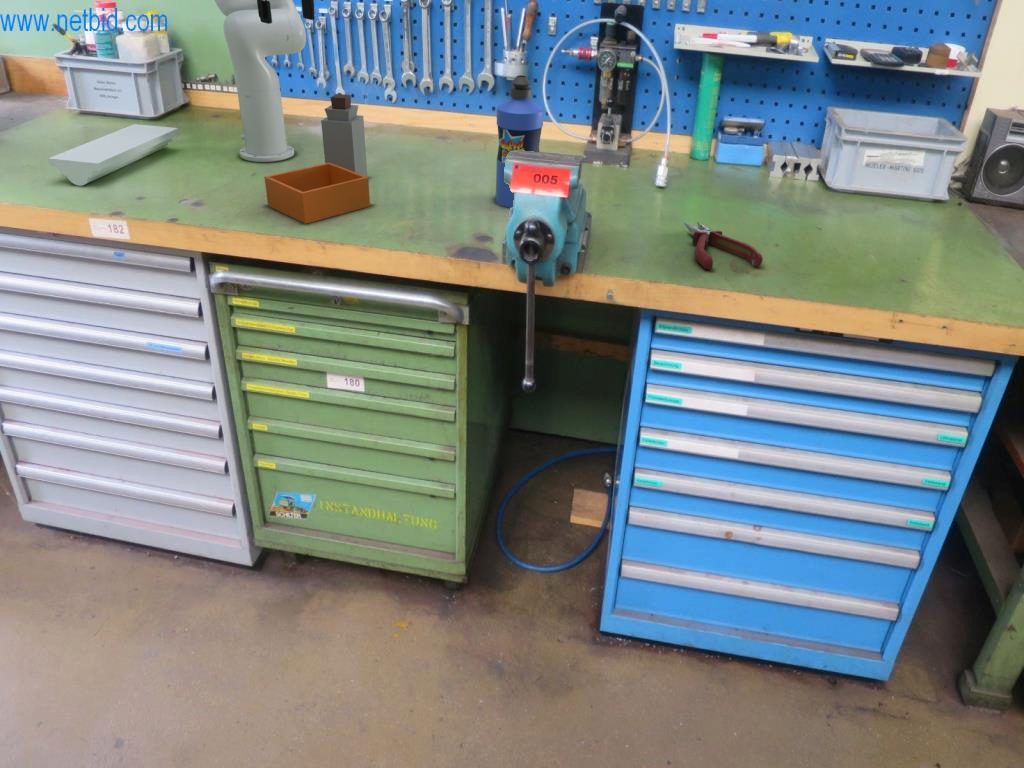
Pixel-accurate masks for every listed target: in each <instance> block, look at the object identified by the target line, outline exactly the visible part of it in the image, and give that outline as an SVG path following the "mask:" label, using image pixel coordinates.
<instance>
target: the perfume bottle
mask: <svg viewBox="0 0 1024 768" xmlns="http://www.w3.org/2000/svg"><path fill="white" fill-rule="evenodd" d="M329 98H330V104H331V105H328V107H325V108H324V112H325V114H326V117H324V118H323V119H321V120H320V123H321V134H322V145H323V155H324V157H323V158H324V163H329V162H330V163H332V164H335V165H337V166H340V167H343V168H345V169H348V170H350V171H353V172H355V173H358V174H361V175H363V176H366V177H368V165H367V151H366V150H367V149H366V136H365V121H364V115H361V114H360V115H359V114H358V110H359V105H358V104H352V95H351V94H343V93H342V94H341V93H336V94H333V95H331V96H329Z"/></svg>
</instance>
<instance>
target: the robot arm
mask: <svg viewBox="0 0 1024 768" xmlns="http://www.w3.org/2000/svg"><path fill="white" fill-rule="evenodd" d="M214 2H215V4H216V6H217V7H218V9H219V11H220V12H221V13H222V15H224V16H225V19H224V21H223V34H224V39H225V42H226V45H227V48H228V51H229V54H230V55H229V56H230V58H231V62H232V68H233V72H234V73H233V74H234V79H235V84H236V91H237V92H236V93H237V98H238V106H239V112H240V119H241V127H242V133H243V134H241V135H240V138H241V140H242V141H244V147H241V149H239V151H238V153H239V157H240V158H241V159H242V160H245V161H249V162H254V163H255V162H257V163H271V162H279V161H284V160H287V159H290V158H292V157H293V156H294V155H295V148H294V147H293V146H291V145H289V144H287V136H286V135H287V134H286V127H285V118H284V109H283V102H282V100H283V99H282V92H281V86H280V78H279V75H278V73H277V72H276V70H275V69H274V67H273V66H272V65H270V63H269V62H268V61H267V59H266V57H271V56H283V55H285V56H286V55H293V54H298V53H300V52H302V51H303V50H304V49H305V46H306V43H307V34H306V32H307V31H306V28H305V25H304V22H303V19H305V20H310V21H314V20H315V19H316V18H315V13H316V12H315V10H316V9H315V0H300V3H301V10H302V11H301V12H302V17H301V15H300V13H299V11H298V8H297V7H296V5H295V2H294V0H214ZM302 18H303V19H302Z"/></svg>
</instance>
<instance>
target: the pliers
mask: <svg viewBox="0 0 1024 768" xmlns="http://www.w3.org/2000/svg"><path fill="white" fill-rule="evenodd" d="M683 225H684V226H685V227H686V229H687V230H688V232H690V234H691V235H692V244H693V246H696V247H695V250H694V258H695V260H696V262H697V263H698V264H699V265H700V266H701V267H703V269H705V270H712V269H713V265H714V260H713V257H712V255H711V254H709V253H708V251H706V244H708V245H709V246H711V247H715V248H717V249H721V250H723V251H726V252H728V253H731V254H734V255H737V256H739V257H741V258H743V259H746V260H747V261H748V262H749V263H750V264H751V265H752V266H753V267H760V266H761V265H762V264H763V261H764V259H763V255H762V253H760V252H759V251H758V250H757V249H756V248H755V247H754V246H751V245H750V244H747V243H746V242H743V241H740V240H737V239H735V238H732V237H728V236H727V235H723V231H722V230H718V229H717V230H712V231H711V229H710V228H709V227H707V226H706V225H704V224H702V223H700V222H697V225H695V224H693V223H689V222H685V221H684V223H683Z"/></svg>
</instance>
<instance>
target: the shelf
mask: <svg viewBox="0 0 1024 768" xmlns="http://www.w3.org/2000/svg"><path fill="white" fill-rule="evenodd" d="M178 136H180V132H179V127H173V126H171V127H170V126H160V125H151V124H150V125H149V124H136V123H133V124H131V125H128V126H126V127H124V128H121V129H119V130H115V131H114V132H111V133H109V134H108V133H107V134H106V135H104V136H101V137H99V138H96V139H93V140H91V141H88V142H86V143H84V144H81V145H79V146H75V147H73V148H71V149H68V150H65V151H63V152H61V153H58V154H55V155H53V156H50V157H48V161H49V162H48V163H49V166H50V167H55V168H56V169H58V170H59V171H60V173H61V175H63V176H66V178H67V179H68V180H69V182H71V183H72V184H73V185H75V186H78V187H82V186H86V185H87V184H90V183H91V182H93V181H95V180H98V179H100V178H102V177H104V176H106V175H108V174H111V173H113V172H115V171H117V170H119V169H122V168H123V167H126V166H128V165H130V164H133V163H135V162H137V161H138V160H141V159H144V158H145V157H148V156H149V155H152V154H154V153H156V152H158V151H160V150H162V149H165V148H166V147H167V146H168V145H169V143H170V142H173V138H175V137H178Z"/></svg>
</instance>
